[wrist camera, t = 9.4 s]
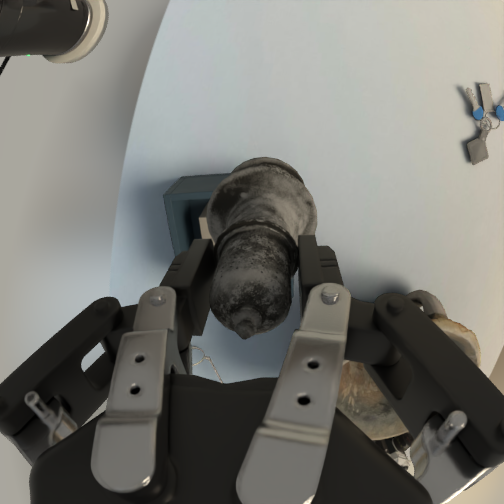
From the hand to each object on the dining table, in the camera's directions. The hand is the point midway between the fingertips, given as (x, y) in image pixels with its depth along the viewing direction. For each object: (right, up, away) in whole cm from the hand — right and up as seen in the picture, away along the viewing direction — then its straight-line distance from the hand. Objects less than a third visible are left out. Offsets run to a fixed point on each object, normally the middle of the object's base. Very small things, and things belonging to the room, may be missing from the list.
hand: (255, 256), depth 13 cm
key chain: (+30, +18, +16) cm, 39 cm away
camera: (+41, -52, +55) cm, 86 cm away
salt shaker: (+1, +4, +6) cm, 7 cm away
